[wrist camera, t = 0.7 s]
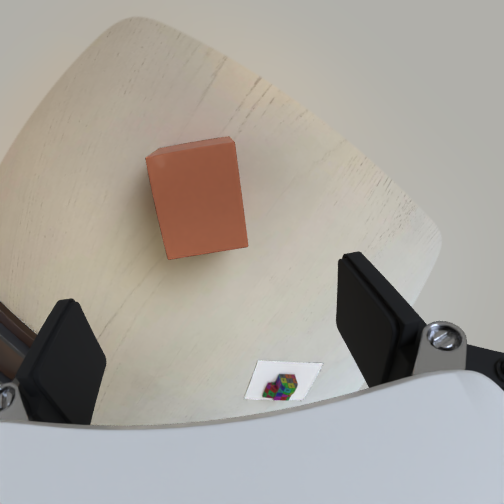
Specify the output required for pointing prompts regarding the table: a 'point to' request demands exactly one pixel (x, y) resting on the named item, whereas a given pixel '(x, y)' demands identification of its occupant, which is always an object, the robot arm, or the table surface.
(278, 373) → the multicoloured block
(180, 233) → the orange brown block
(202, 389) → the table surface
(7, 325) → the dark brown shallow tray
